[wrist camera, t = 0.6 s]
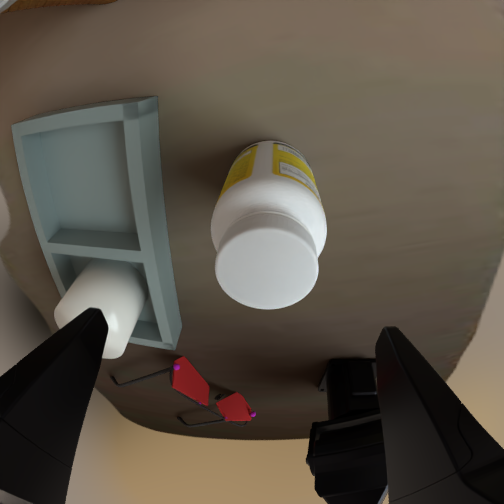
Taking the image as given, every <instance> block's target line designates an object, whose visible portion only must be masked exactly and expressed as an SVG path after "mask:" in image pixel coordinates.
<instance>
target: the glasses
mask: <svg viewBox="0 0 504 504" xmlns="http://www.w3.org/2000/svg"><path fill="white" fill-rule="evenodd" d="M172 370H173V381H172ZM169 371H170V382H171V385H172V387H173V388H174V389H175V390H176V391H177V392H178V393H179V394H180V395H182V396H183V397H185V398H186V399H188V400H190V401H192V402H193V403H195V404H197V405H198V406H200V407H202V408H204V409H206V410H207V411H209V412H211V413H213V414H215V415H217V416H218V417H220V418H222V419H221V420H216V421H211V422H205V423H199V424H193V425H188V424H186V423H185V422H184V421H183V419H182V418H180V417H177V419H178V420H179V421H180V422H182V423H183V424H184V425H185V426H187V427H196V426H202V425H208V424H214V423H220V422H225V421H228V422H230V423H232V424H234V425H236V426H241V427H242V426H245V425H246V424H247V423H248V421H250V420H251V416H252V417H254V416H255V415H256V413H255V412H251V408H250V406H249V405H248V403H247V402H246V400H245V399H244V397H243V396H242V395H240V394H239V393H237V392H236V393H234V394H232V395H230V396H228V397H226V398H224V399H222V400H220V401H219V402H217V403H216V405H217V406H218V408H219V410H220V412H221V413H222V415H223V417H222V416H220V415H218V414H216V413H215V412H213V411H211V410H209V409H207V408H206V407H204V406H202V405H200V404H201V403H202V404H204V405H206V406H208V398H209V387H210V386H209V384H207V383H206V382H205V380H204V379H203V378H202V377H201V376H200V374H199V373H198V372H197V371H196V370H195V368H194V367H193V366H192V365H191V363H190V362H189V361H188V360H187V358H185V357H184V356H183V357H181V358H179V359H177V360H175V361H174V366H172V367H169V368H167V369H164V370H161V371H158V372H155V373H153V374H150V375H147V376H144V377H141V378H138V379H135V380H132V381H129V382H126V383H123V384H118V383H117V381H116V379H115V378H114V377H110V378H111V379H112V381H113V382H114V384H115V385H116V386H118V387H125V386H128V385H131V384H134V383H137V382H140V381H143V380H146V379H149V378H152V377H155V376H158V375H161V374H164V373H166V372H169ZM181 392H182V393H183V394H182V393H181ZM184 394H185V395H187V396H189V397H191V398H193V399H194V400H196V401H198V402H199V403H197V402H195V401H193V400H192V399H190V398H188V397H187V396H185V395H184ZM220 395H221V394H219V395H217V396H216V397H215V399H216V400H219V399H220V398H221V397H222V396H224V395H225V394H223V395H222V396H221V397H220ZM232 421H246V423H245V424H244V425H239V424H236V423H233V422H232Z"/></svg>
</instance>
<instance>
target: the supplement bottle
mask: <svg viewBox="0 0 504 504" xmlns="http://www.w3.org/2000/svg"><path fill="white" fill-rule="evenodd" d="M326 234H327V227H326V219H325V214H324V210H323V207H322V203H321V200H320V197H319V193H318V190H317V187H316V183H315V180H314V177H313V174H312V171H311V168H310V165H309V164H308V162H307V160H306V159H305V157H304V156H303V155H302V154H301V153H300V152H299V151H298V150H297V149H295V148H294V147H292V146H290V145H288V144H286V143H283V142H279V141H262V142H258V143H255V144H253V145H250V146H249V147H247V148H246V149H244V150H243V151H242V152H241V153H240V154H239V155H238V156H237V157H236V159H235V160H234V162H233V164H232V166H231V168H230V171H229V173H228V176H227V178H226V181H225V183H224V186H223V188H222V191H221V193H220V196H219V198H218V201H217V203H216V206H215V208H214V212H213V215H212V220H211V236H212V240H213V244H214V246H215V249H216V251H217V256H216V261H215V273H216V277H217V280H218V282H219V284H220V286H221V287H222V289H223V290H224V291H225V292H226V293H227V294H228V295H229V296H230V297H231V298H233V299H234V300H236V301H237V302H239V303H241V304H244V305H246V306H249V307H253V308H258V309H278V308H283V307H286V306H289V305H292V304H294V303H296V302H298V301H300V300H301V299H303V298H304V297H305V296H306V295H307V294H308V293H309V292H310V291H311V289H312V288H313V286H314V284H315V282H316V280H317V276H318V259H317V258H318V257H319V255H320V253H321V251H322V249H323V247H324V244H325V240H326Z"/></svg>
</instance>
